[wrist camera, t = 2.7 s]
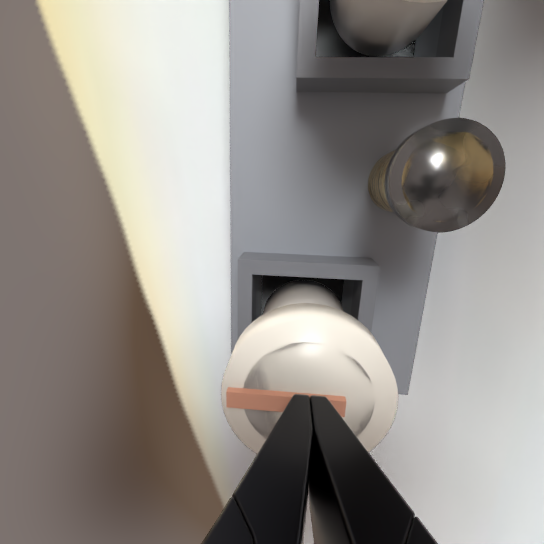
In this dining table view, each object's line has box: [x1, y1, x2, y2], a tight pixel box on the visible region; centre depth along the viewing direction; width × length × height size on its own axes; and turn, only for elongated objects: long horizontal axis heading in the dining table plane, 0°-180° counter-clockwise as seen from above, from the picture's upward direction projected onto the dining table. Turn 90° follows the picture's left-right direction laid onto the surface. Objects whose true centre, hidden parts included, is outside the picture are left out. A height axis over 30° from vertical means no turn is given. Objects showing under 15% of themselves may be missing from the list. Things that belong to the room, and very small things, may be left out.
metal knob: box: [368, 118, 505, 232], centre depth 10 cm, size 3×3×4 cm
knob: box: [221, 280, 398, 454], centre depth 11 cm, size 5×5×6 cm
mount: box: [229, 0, 484, 395], centre depth 12 cm, size 9×21×4 cm, turn 178°
